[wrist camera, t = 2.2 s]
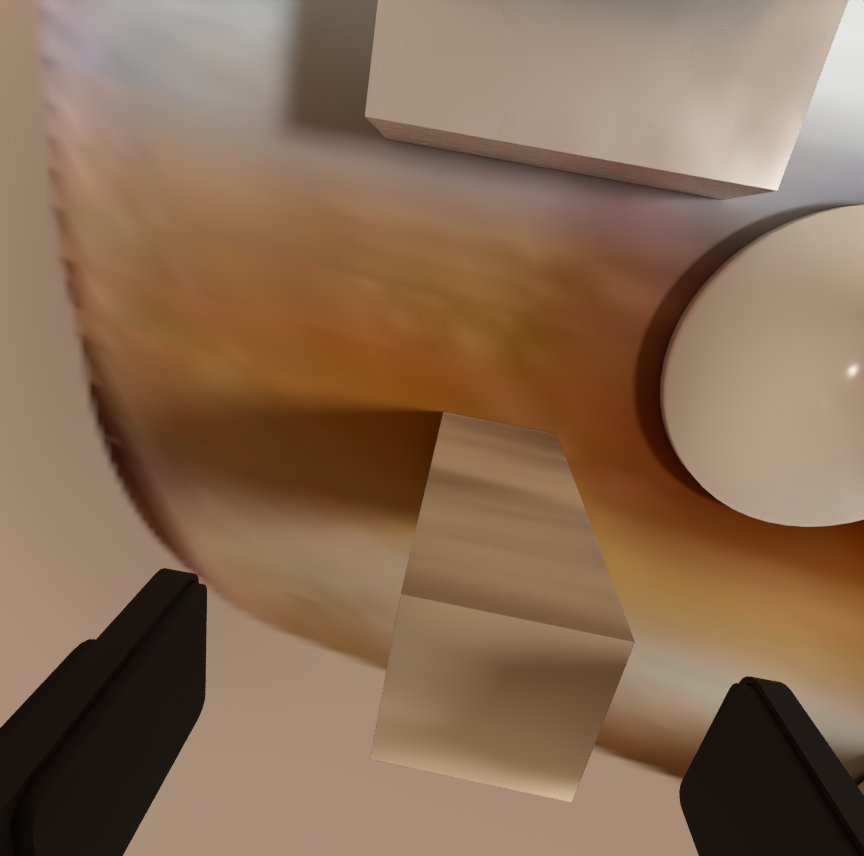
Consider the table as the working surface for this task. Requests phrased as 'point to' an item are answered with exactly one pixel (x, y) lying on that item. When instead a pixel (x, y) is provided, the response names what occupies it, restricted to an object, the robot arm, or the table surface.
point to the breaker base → (606, 84)
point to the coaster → (776, 375)
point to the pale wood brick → (502, 619)
